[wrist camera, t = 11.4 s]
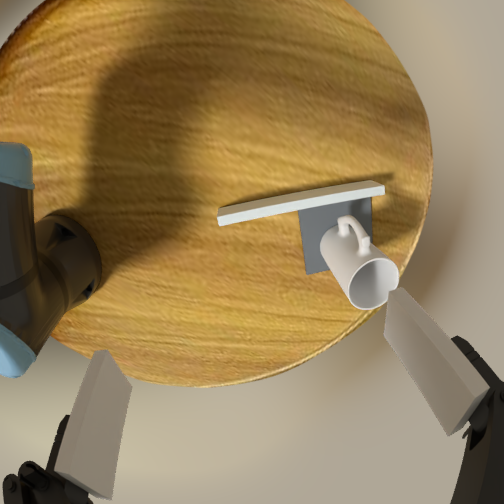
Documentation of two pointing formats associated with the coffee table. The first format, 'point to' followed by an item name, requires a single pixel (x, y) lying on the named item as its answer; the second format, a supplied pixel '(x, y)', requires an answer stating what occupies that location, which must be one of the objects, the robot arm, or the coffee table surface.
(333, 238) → the mug
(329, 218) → the mat
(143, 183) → the coffee table surface
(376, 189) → the wall
